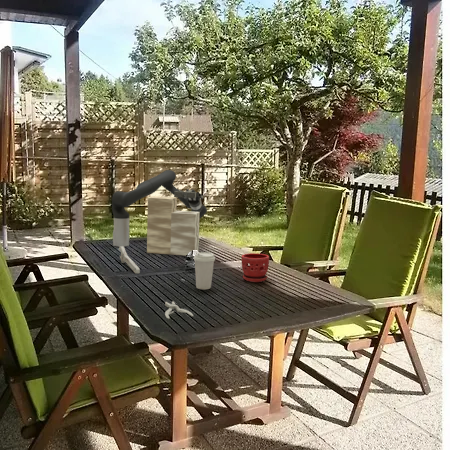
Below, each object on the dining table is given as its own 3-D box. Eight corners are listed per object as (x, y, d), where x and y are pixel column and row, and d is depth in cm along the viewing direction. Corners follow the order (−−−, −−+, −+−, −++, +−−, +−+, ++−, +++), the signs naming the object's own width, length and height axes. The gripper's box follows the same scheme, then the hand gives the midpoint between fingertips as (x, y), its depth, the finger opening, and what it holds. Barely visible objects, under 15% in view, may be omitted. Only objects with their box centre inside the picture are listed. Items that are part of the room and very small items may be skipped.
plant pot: (270, 277, 228) (271, 253, 226) (264, 284, 215) (266, 259, 213) (244, 274, 231) (245, 251, 229) (237, 281, 219) (238, 256, 217)
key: (182, 193, 285) (182, 188, 284) (201, 194, 283) (201, 189, 283) (174, 196, 265) (174, 191, 265) (194, 198, 263) (194, 192, 263)
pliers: (167, 315, 167) (156, 302, 181) (167, 320, 168) (156, 306, 181) (193, 313, 171) (181, 300, 185) (193, 317, 171) (181, 304, 185)
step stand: (153, 248, 283) (153, 195, 278) (198, 251, 279) (200, 198, 274) (146, 252, 271) (147, 197, 266) (194, 256, 267) (195, 200, 262)
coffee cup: (190, 285, 210) (191, 252, 208) (210, 283, 214) (211, 251, 211) (196, 291, 202) (197, 257, 199) (217, 289, 205) (218, 256, 203)
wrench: (135, 279, 226) (118, 259, 251) (139, 279, 226) (121, 258, 252) (136, 264, 223) (118, 244, 249) (140, 264, 224) (122, 244, 249)
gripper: (184, 196, 296) (179, 184, 280) (206, 197, 294) (202, 185, 278) (183, 206, 294) (177, 195, 277) (205, 208, 292) (200, 196, 276)
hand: (190, 190), depth 278 cm, fingers closed on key, 2 cm apart
